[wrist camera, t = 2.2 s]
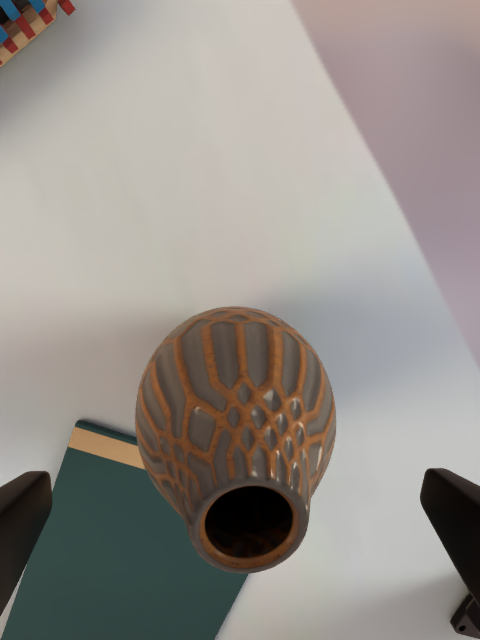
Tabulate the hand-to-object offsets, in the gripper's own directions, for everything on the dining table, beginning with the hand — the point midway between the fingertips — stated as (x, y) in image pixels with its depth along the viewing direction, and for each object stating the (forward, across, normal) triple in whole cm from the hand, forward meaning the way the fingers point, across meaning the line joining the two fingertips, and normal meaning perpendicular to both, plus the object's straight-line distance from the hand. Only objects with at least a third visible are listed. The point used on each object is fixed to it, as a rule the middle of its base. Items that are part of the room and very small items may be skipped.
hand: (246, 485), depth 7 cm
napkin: (+8, +5, +14) cm, 17 cm away
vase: (+8, 0, 0) cm, 8 cm away
